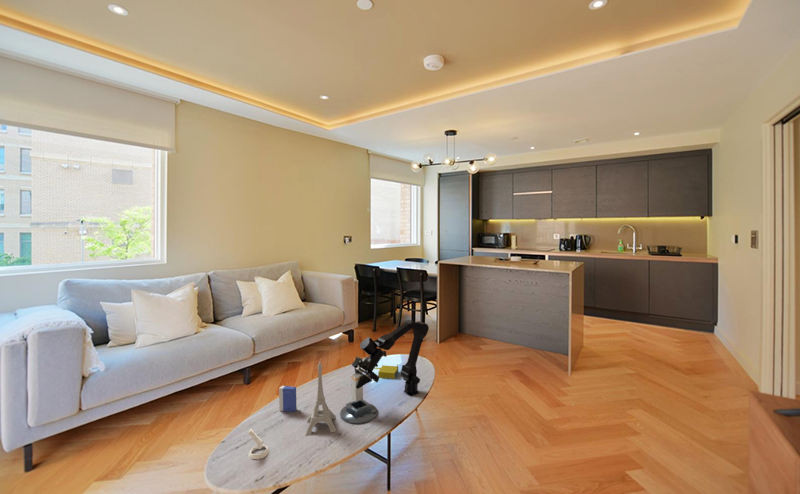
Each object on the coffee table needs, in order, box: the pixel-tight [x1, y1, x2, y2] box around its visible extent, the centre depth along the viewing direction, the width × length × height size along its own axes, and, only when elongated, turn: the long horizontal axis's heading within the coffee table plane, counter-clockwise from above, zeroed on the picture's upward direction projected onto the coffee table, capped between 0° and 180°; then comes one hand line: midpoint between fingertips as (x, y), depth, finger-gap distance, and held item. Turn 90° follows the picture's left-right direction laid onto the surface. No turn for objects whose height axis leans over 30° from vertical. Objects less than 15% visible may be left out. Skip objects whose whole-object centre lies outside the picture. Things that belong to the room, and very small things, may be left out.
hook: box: [247, 428, 270, 460], centre depth 136 cm, size 8×12×7 cm
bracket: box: [373, 363, 399, 380], centre depth 210 cm, size 16×8×15 cm
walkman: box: [278, 385, 297, 413], centre depth 169 cm, size 8×3×12 cm, turn 81°
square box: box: [350, 373, 364, 402], centre depth 165 cm, size 4×4×12 cm
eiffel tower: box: [304, 361, 337, 436], centre depth 155 cm, size 13×13×30 cm
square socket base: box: [339, 398, 378, 425], centre depth 165 cm, size 18×18×4 cm
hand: (354, 386), depth 165 cm, fingers closed on square box, 4 cm apart
